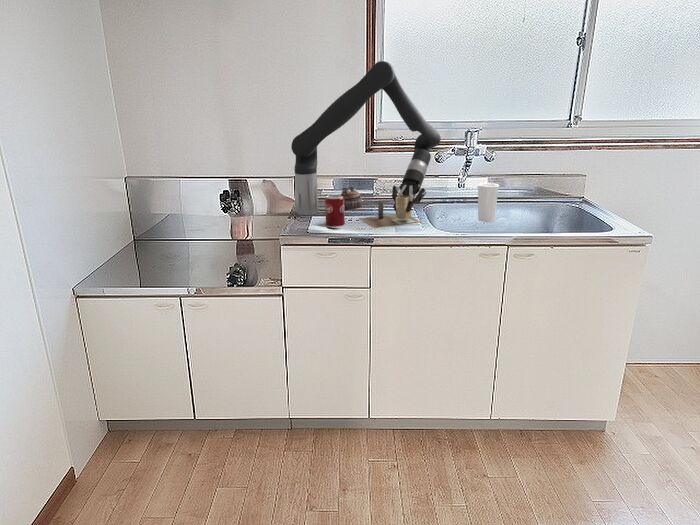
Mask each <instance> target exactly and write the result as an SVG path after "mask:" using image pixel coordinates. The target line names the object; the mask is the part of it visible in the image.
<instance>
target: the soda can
mask: <svg viewBox="0 0 700 525" xmlns="http://www.w3.org/2000/svg"><path fill="white" fill-rule="evenodd" d="M324 207H325V208H324V210H325V226H326V229H328V230H332V231H337V230H340V228H338V227H341V226H344V225H345V224H346V221H345V220H346V219H345V216H346V215H345V213H346V212H345V211H344V197H343V196H341V195H340V194H332V195H327V196H325V198H324Z"/></svg>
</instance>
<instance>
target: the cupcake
mask: <svg viewBox="0 0 700 525" xmlns="http://www.w3.org/2000/svg"><path fill="white" fill-rule="evenodd" d="M339 195H341V196H343V197H344V212H346V211H348V210H355V209H360V208H362V206H363V205H362V203H363V198H362V197H361V193H360V192H358V190H357V189H356V188H355V187H353V186H349V187H348V188H347V187H342V190H341V193H340V194H339Z"/></svg>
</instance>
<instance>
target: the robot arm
mask: <svg viewBox="0 0 700 525" xmlns="http://www.w3.org/2000/svg"><path fill="white" fill-rule="evenodd" d="M381 90H383V92H385V94H386V95H387V97H389V99H390V100H391V103H392V104H393V105H394V107H395V108H396V112H398V114H399V115H400V117H401V119H402V121H403V122H404V123H405V124H406V126H407V128H408V129H409V130H410V131H411V132H413V133H414V132H418V133H420V134H419V135H418V136H417V138H416V139H415V142H414V146H413V147H414V148H413V155H412V156H411V159H410V162H409V164H408V166H407V168H406V170H405V173H404V176H403V178H402V182H401V184H399V186H397V185H393V186H392V191H391V193H392V194H391V198H392V200H393V202H394V204H393V207H392V208H393V209H394V212H396V197H398V196H402V195H403V196H410V202H408V205H407V207H406V211H407V213H409V211H411V212H412V209H413V207H414V205H415V204H416V205H419V204H420V203H421V201H422V200H423V198H424V197H425V195H426V194H427V191H426V189H425V188H424V187H422V185H423V183H424V181H425V180H424V179H425V177H426V175H427V171H428V168H429V165H430V162H431V157H432V155H431V152H430V150H432V149H433V148H436V147H437V146H439V145H440V143H441V134H440V132H439V131H438V129H436V127H434V126H433V124H431V123H430V122H429V121H427V120H426V119H425V118H424V116H423V115H422V113H421V112H420V111H419V110H420V109H418V107H417V106H416V105H415V103H414V102H413V100H412V99H411V98H410V96H409V95H408V94H407V92H406V91H405V90H404V88H403V85H401V83H400V81H399V79H398V77H397V75H396V72H395V69H394V67H393V65H392V64H391V63H390V62H388V61H384V60H381V61H380V60H379V61H377V62H375V63H374V64H373V65H372V66H371V68H370V69H369V70H368V71H367V73H366V74H365V75H364V76H363V77H362V78H361V79H359V81H358V82H357V83H356V84H354V86H352V87H351V88H349V89H348V90H346V91H345V92H344V93H342V94H340V96H339V97H337V99H335V100H334V101H333V102H332V103H331V104H330V105H329V106H328V107H327V108H326V109H325V110H324V111H323V112H322V113H321V114H320V115H319V117H318V118H316V120H315V121H314V122H313V123H312V124H311V125H310V126H309V127H307V128H306V129H305V130H303V131H302V132H301V133H299V134H298V135H296V136H295V137H294V138H293V140H292V142H291V151H292V153H293V155H295V162H294V163H295V164H294V182H295V183H294V185H295V190H294V191H293V192H294V205H295V208H294V209H295V213H296V214H297V215H299V216H312V215H316V214H318V213H319V195H318V190H319V189H318V174H317V168H318V146H319V144H320V143H321V142H323V140H325V139H326V138H327V137H328V136H330V135H331V134H332V133H335V132H336V131H337V130H339V129H340V128H341V127H343V126H344V125H345V124H346V123H347V122H349V121H350V120H351V119H352V118H353V117H354V116H355V115H357V113H359V111H360V110H361V109H362V107H363V106H364V105H366V103H367V102H368V101H369V99H370V98H371V97H373V96H374V95H375V94H377V93H378V92H379V91H381ZM421 187H422V188H421Z"/></svg>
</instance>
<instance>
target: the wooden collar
mask: <svg viewBox="0 0 700 525" xmlns="http://www.w3.org/2000/svg"><path fill="white" fill-rule="evenodd" d="M397 196H398V195H397ZM408 202H410V196H403V195H402V196H398V197H396V211H395V214H396V218H399V219H408V218H410V217H412V210H411V211H409V213H407V211H406V207H407V205H408Z"/></svg>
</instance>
